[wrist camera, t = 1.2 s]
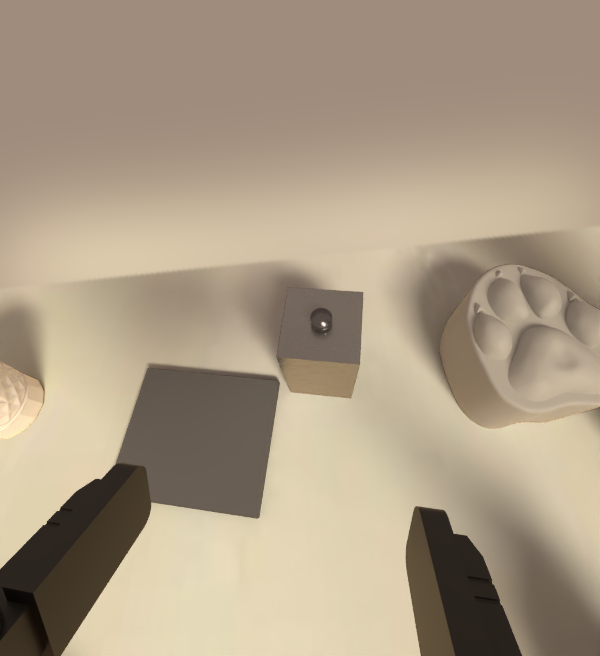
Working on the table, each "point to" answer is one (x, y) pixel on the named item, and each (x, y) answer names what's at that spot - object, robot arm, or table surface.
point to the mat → (203, 439)
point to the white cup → (18, 401)
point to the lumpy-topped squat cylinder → (522, 349)
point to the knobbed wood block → (321, 341)
